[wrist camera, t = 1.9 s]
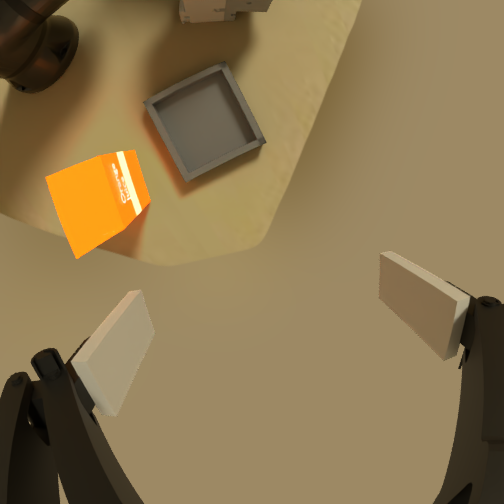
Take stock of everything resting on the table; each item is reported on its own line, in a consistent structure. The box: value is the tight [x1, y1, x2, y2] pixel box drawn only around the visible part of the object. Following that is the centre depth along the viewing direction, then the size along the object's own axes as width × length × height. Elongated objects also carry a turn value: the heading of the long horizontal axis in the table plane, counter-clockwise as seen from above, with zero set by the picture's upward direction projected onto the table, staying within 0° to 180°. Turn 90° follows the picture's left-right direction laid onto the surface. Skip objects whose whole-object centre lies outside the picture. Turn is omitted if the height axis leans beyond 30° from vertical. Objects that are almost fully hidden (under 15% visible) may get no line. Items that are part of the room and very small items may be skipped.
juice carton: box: [46, 150, 151, 259], centre depth 30 cm, size 8×9×20 cm
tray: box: [143, 61, 266, 182], centre depth 36 cm, size 14×13×2 cm
